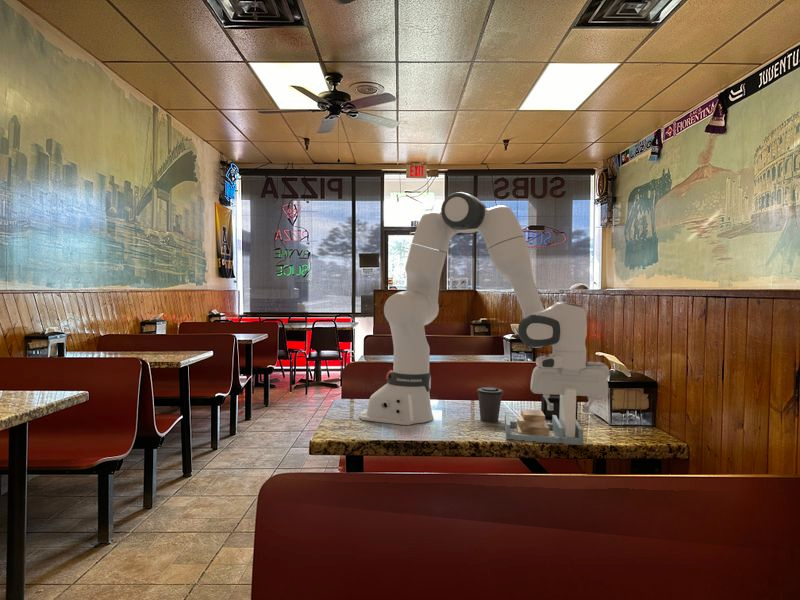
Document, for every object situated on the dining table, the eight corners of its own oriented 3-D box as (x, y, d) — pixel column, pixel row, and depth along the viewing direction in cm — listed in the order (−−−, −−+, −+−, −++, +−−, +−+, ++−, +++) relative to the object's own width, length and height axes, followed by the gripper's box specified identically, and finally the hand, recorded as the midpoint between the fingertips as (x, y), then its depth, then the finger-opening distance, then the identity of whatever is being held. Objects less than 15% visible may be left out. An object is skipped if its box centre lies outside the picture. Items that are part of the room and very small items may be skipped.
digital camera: (544, 420, 158) (544, 398, 158) (540, 416, 164) (541, 394, 163) (578, 422, 157) (579, 399, 157) (573, 417, 163) (574, 396, 163)
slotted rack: (506, 439, 136) (506, 424, 136) (504, 425, 151) (505, 412, 151) (582, 445, 132) (583, 429, 132) (573, 430, 147) (574, 416, 147)
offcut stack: (518, 437, 138) (518, 415, 138) (516, 428, 148) (516, 407, 148) (549, 440, 136) (550, 417, 136) (545, 430, 146) (546, 409, 146)
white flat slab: (565, 442, 135) (566, 389, 135) (559, 430, 147) (560, 382, 146) (574, 443, 134) (576, 390, 134) (568, 431, 146) (569, 382, 146)
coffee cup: (502, 424, 152) (503, 390, 152) (475, 422, 154) (476, 389, 154) (502, 418, 160) (503, 386, 160) (476, 416, 162) (477, 384, 162)
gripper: (606, 360, 141) (605, 410, 141) (530, 358, 145) (529, 406, 145) (611, 363, 135) (610, 415, 135) (532, 360, 139) (531, 411, 139)
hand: (568, 411), depth 140 cm, fingers open, 8 cm apart
